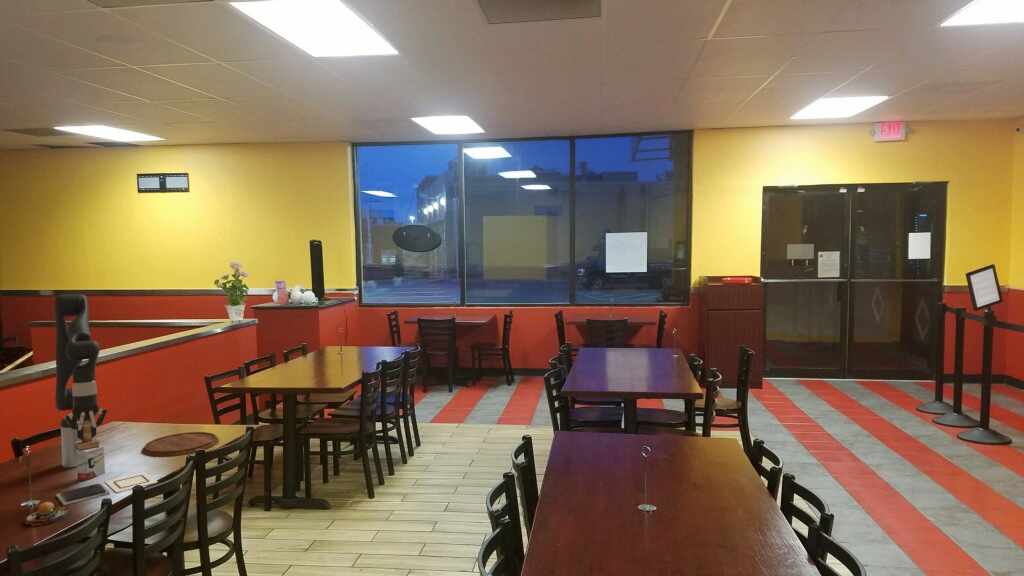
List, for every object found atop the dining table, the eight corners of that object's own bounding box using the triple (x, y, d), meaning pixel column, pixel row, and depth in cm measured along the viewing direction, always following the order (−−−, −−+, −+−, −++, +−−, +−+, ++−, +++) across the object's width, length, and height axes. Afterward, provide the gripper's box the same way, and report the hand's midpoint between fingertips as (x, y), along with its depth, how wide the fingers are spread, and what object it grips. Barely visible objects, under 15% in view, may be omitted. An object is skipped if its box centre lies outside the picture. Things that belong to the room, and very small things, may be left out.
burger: (77, 511, 209) (76, 490, 209) (52, 526, 197) (52, 504, 197) (42, 511, 208) (41, 491, 208) (15, 527, 197) (14, 505, 196)
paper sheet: (105, 482, 235) (105, 481, 235) (145, 472, 245) (145, 471, 245) (116, 493, 224) (116, 491, 224) (157, 482, 235) (157, 481, 235)
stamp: (75, 448, 226) (74, 419, 226) (94, 444, 231) (93, 415, 231) (79, 451, 222) (78, 421, 222) (99, 447, 227) (97, 418, 226)
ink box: (86, 480, 237) (85, 451, 237) (76, 479, 238) (75, 450, 238) (105, 472, 246) (104, 444, 245) (95, 472, 247) (94, 444, 246)
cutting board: (165, 462, 259) (165, 456, 259) (128, 450, 276) (127, 444, 276) (233, 442, 287) (233, 437, 286) (195, 432, 303) (195, 427, 303)
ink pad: (56, 496, 221) (56, 492, 221) (101, 485, 232) (100, 482, 232) (63, 505, 213) (63, 501, 213) (109, 493, 224) (109, 490, 223)
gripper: (103, 389, 234) (105, 432, 234) (59, 395, 223) (61, 440, 224) (109, 391, 229) (111, 435, 229) (64, 397, 218) (66, 444, 219)
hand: (86, 438), depth 226 cm, fingers closed on stamp, 3 cm apart
